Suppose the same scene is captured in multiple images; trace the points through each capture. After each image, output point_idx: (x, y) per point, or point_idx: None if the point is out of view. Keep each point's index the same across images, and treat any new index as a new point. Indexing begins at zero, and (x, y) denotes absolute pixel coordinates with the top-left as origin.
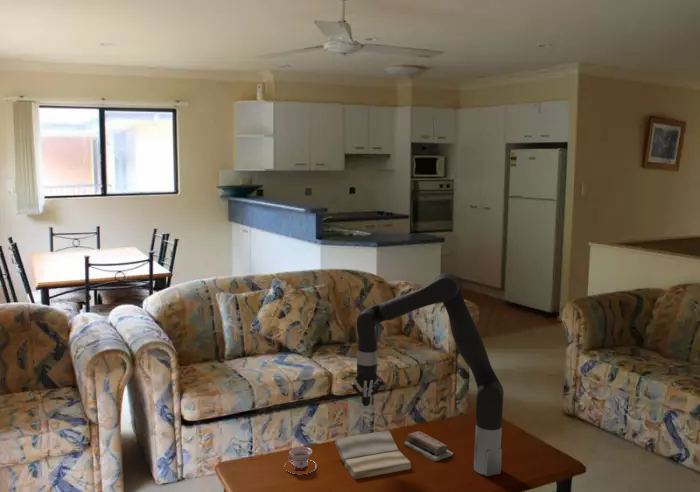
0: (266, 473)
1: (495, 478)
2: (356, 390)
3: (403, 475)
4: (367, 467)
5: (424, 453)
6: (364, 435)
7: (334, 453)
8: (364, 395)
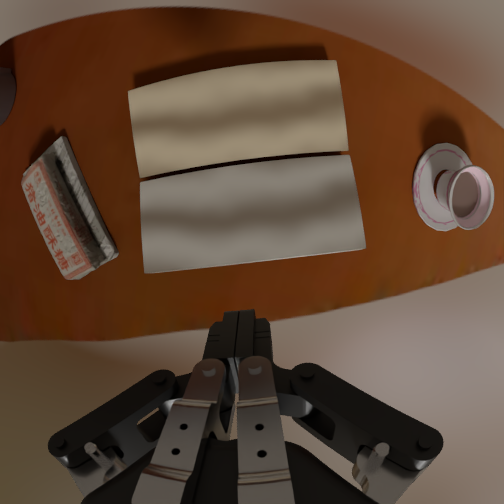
0: (500, 185)
1: (4, 65)
2: (372, 406)
3: (171, 59)
4: (285, 76)
5: (76, 173)
6: (247, 254)
7: None
8: (263, 369)
